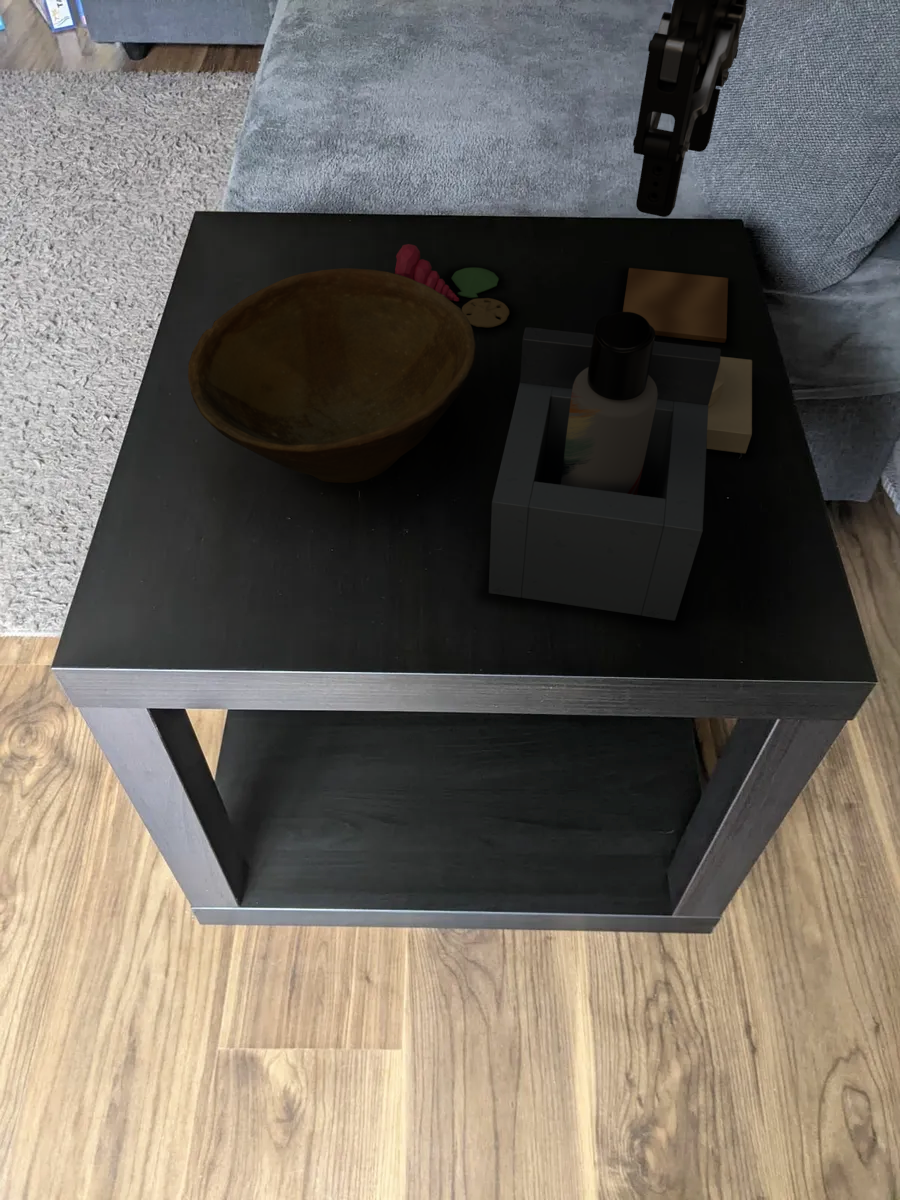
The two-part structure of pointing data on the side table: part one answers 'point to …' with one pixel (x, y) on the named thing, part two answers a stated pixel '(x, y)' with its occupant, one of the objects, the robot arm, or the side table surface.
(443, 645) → the side table surface
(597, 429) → the spray bottle
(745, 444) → the control box
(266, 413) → the bowl
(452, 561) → the side table surface
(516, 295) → the side table surface
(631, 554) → the dark grey square holder
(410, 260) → the toy pieces
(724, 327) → the coaster
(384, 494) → the side table surface
